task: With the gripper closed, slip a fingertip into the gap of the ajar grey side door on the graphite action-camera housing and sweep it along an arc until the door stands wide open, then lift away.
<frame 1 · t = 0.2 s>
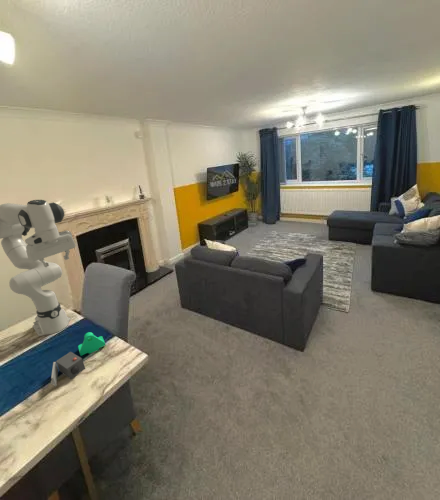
hand: (57, 262, 125), 48 cm above the table, fingers open, 8 cm apart
camera mount: (92, 348, 137), on the table
side door: (54, 374, 117), point 3 cm above the table, hinge at 30.0°
camera housing: (72, 369, 123), on the table
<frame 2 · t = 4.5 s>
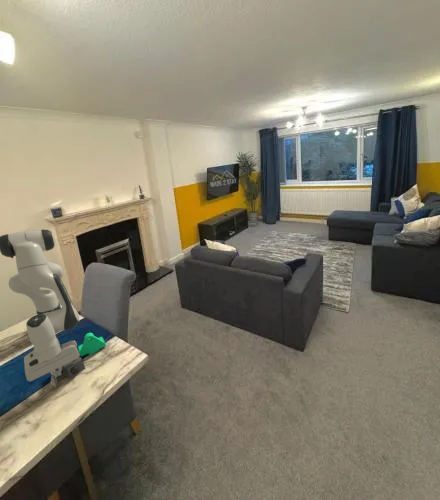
hand: (58, 375, 115), 4 cm above the table, fingers closed
side door: (54, 374, 117), point 3 cm above the table, hinge at 30.7°, touching gripper
everything else where it was.
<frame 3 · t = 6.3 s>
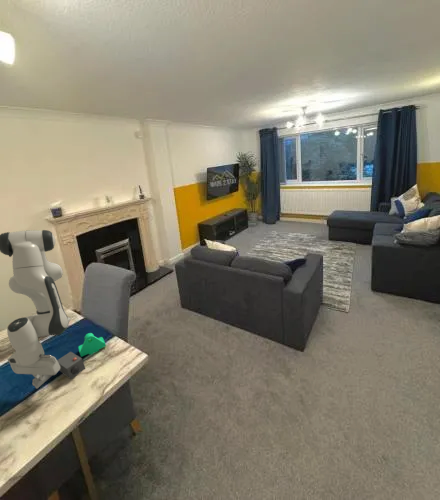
hand: (41, 379, 114), 4 cm above the table, fingers closed
side door: (45, 374, 117), point 3 cm above the table, hinge at 76.3°, touching gripper
everything else where it was.
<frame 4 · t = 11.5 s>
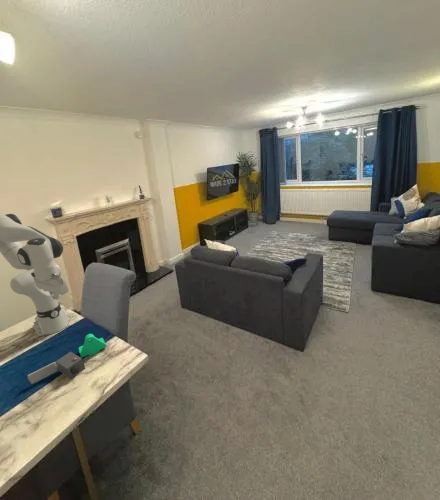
hand: (56, 298, 125), 31 cm above the table, fingers closed
side door: (43, 372, 119), point 3 cm above the table, hinge at 104.7°
at the end: side door at +105° (first picture: +30°); side door touching nothing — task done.
